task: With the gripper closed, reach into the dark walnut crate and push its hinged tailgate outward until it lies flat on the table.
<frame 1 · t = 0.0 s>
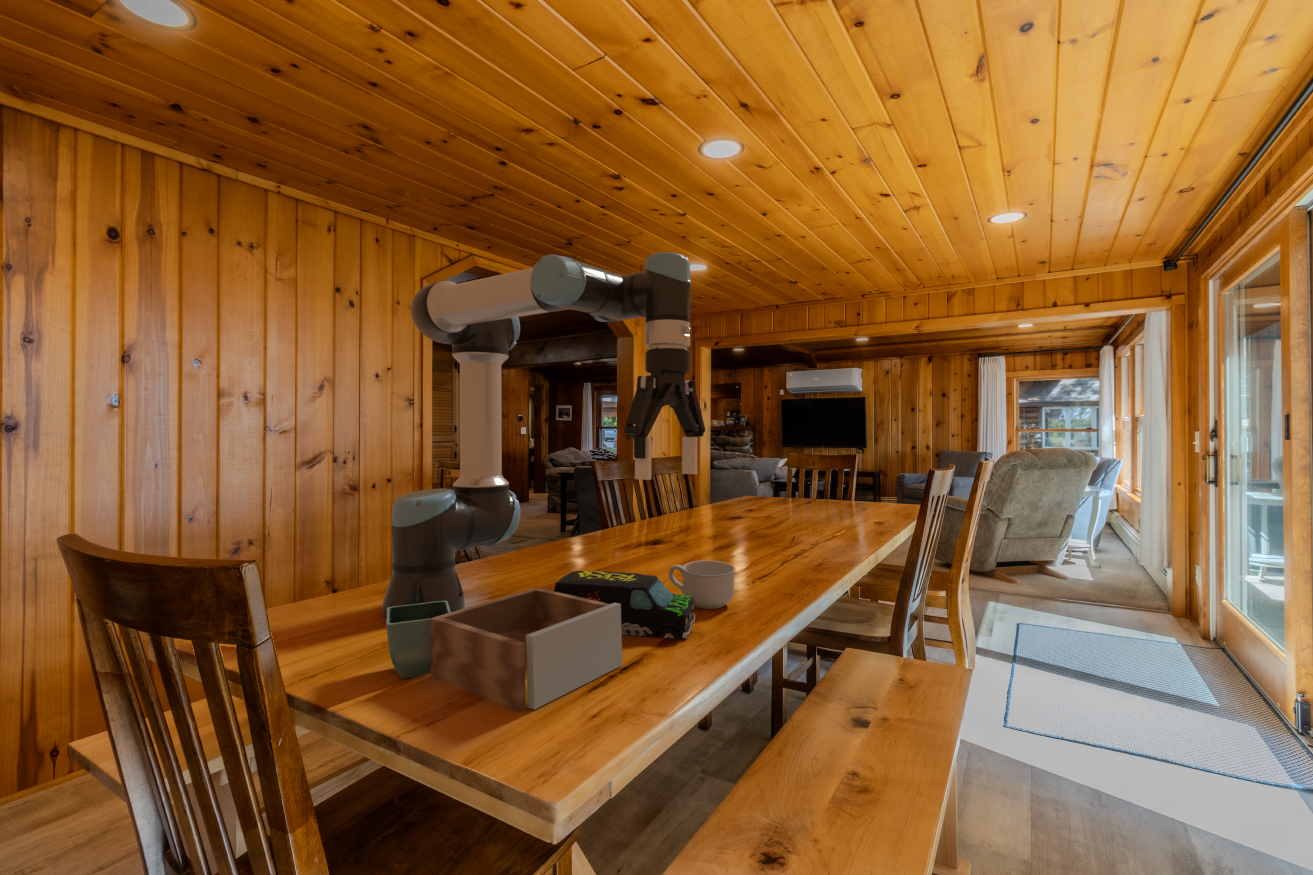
hand: (667, 476, 101), 28 cm above the table, tool pointing down, fingers open, 13 cm apart
flower pot: (418, 672, 90), on the table
toy van: (623, 634, 107), on the table
teacup: (701, 604, 125), on the table
crate: (529, 677, 88), on the table
tailgate: (577, 651, 82), point 6 cm above the table, hinge at -2.0°
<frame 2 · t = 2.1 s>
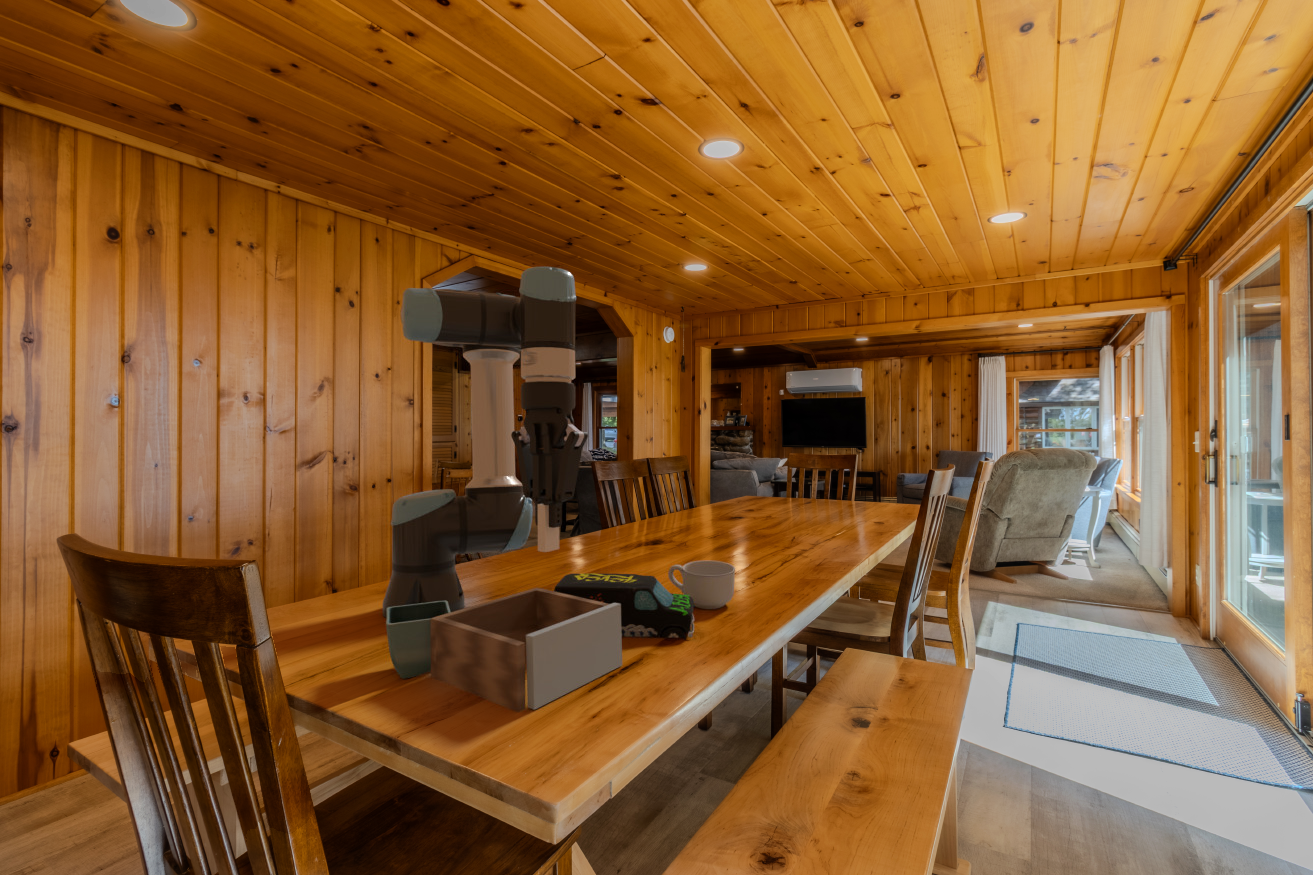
hand: (548, 549, 85), 19 cm above the table, tool pointing down, fingers closed
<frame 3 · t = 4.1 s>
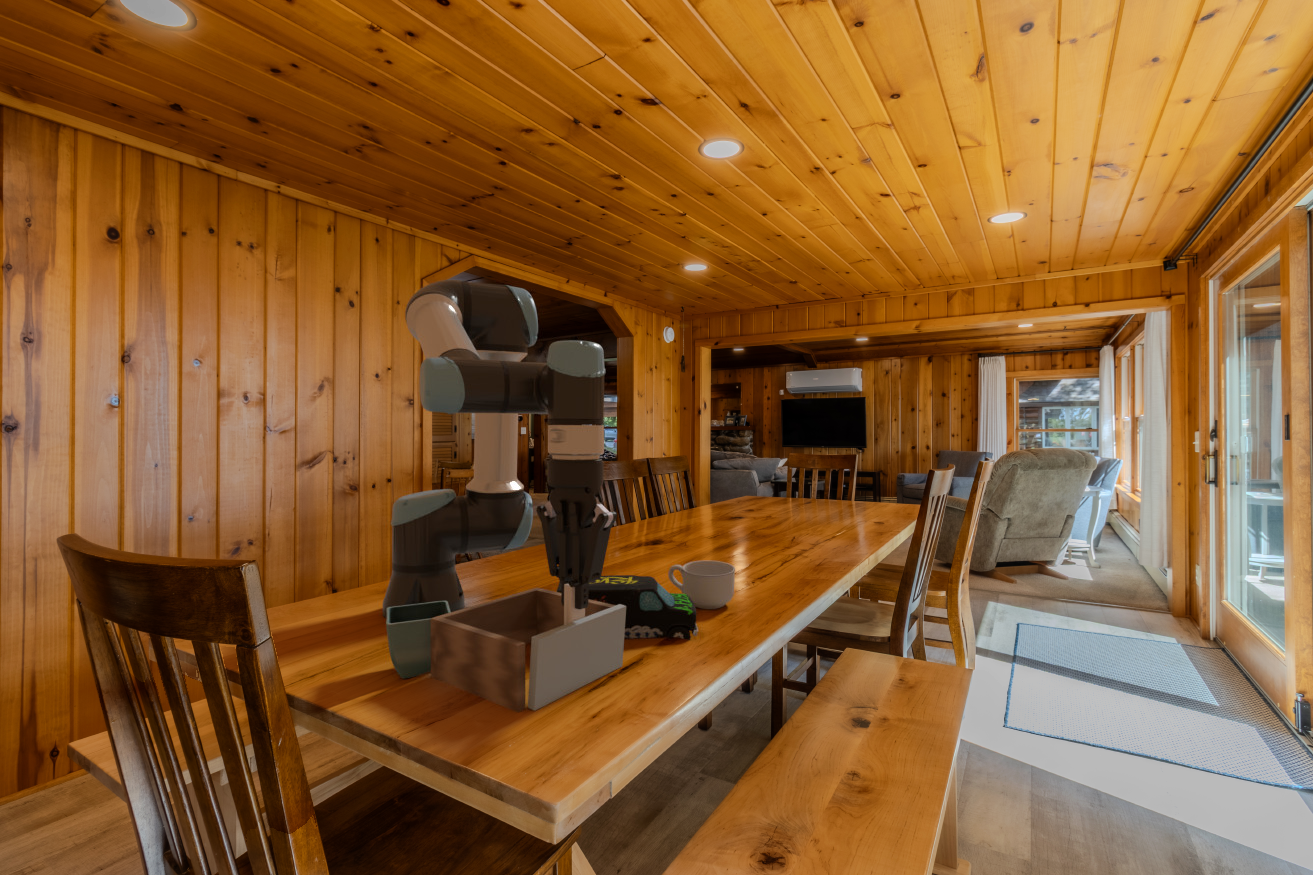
hand: (574, 630, 82), 9 cm above the table, tool pointing down, fingers closed
tailgate: (580, 652, 82), point 6 cm above the table, hinge at 4.7°, touching gripper
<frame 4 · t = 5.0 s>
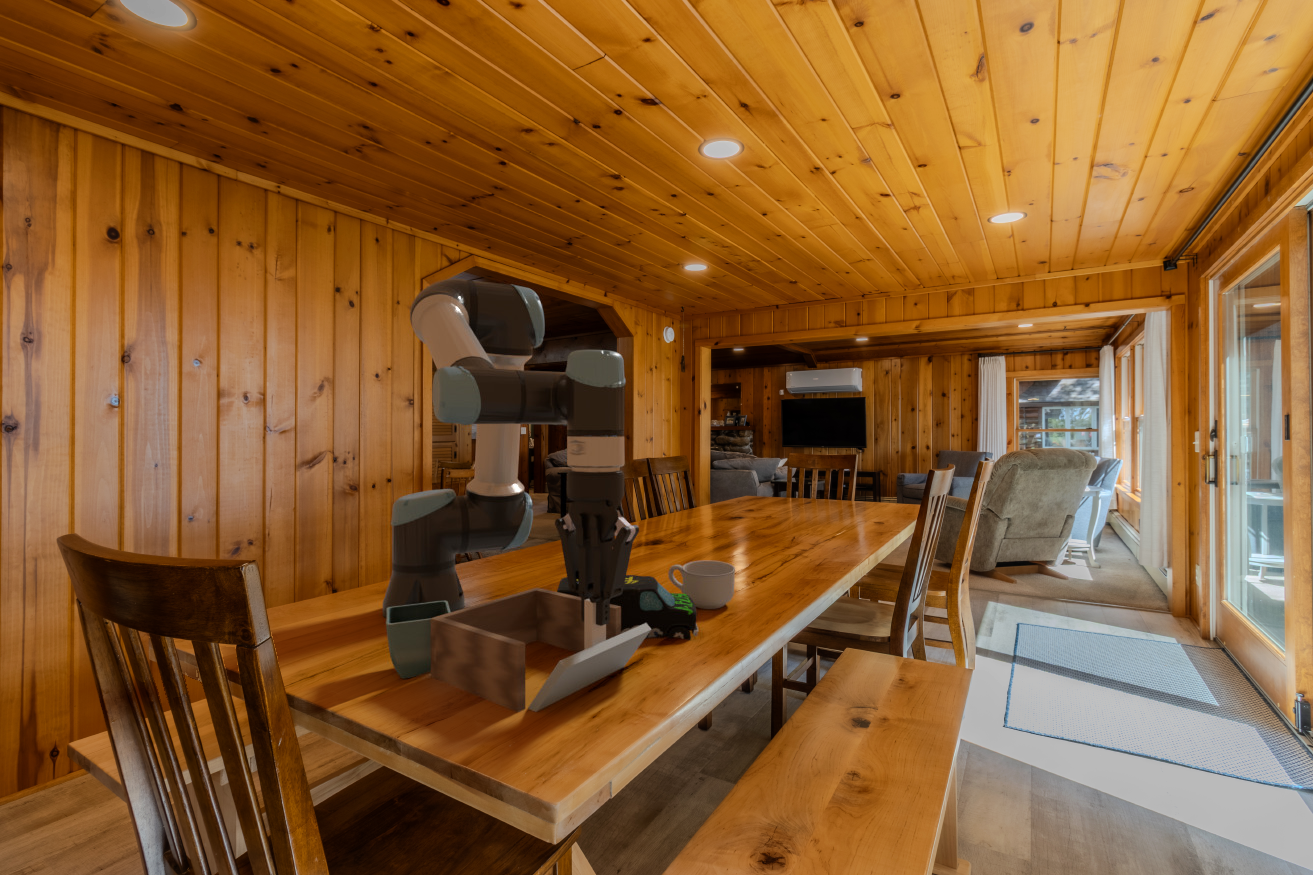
hand: (595, 647, 80), 7 cm above the table, tool pointing down, fingers closed
tailgate: (593, 665, 80), point 5 cm above the table, hinge at 37.5°, touching gripper
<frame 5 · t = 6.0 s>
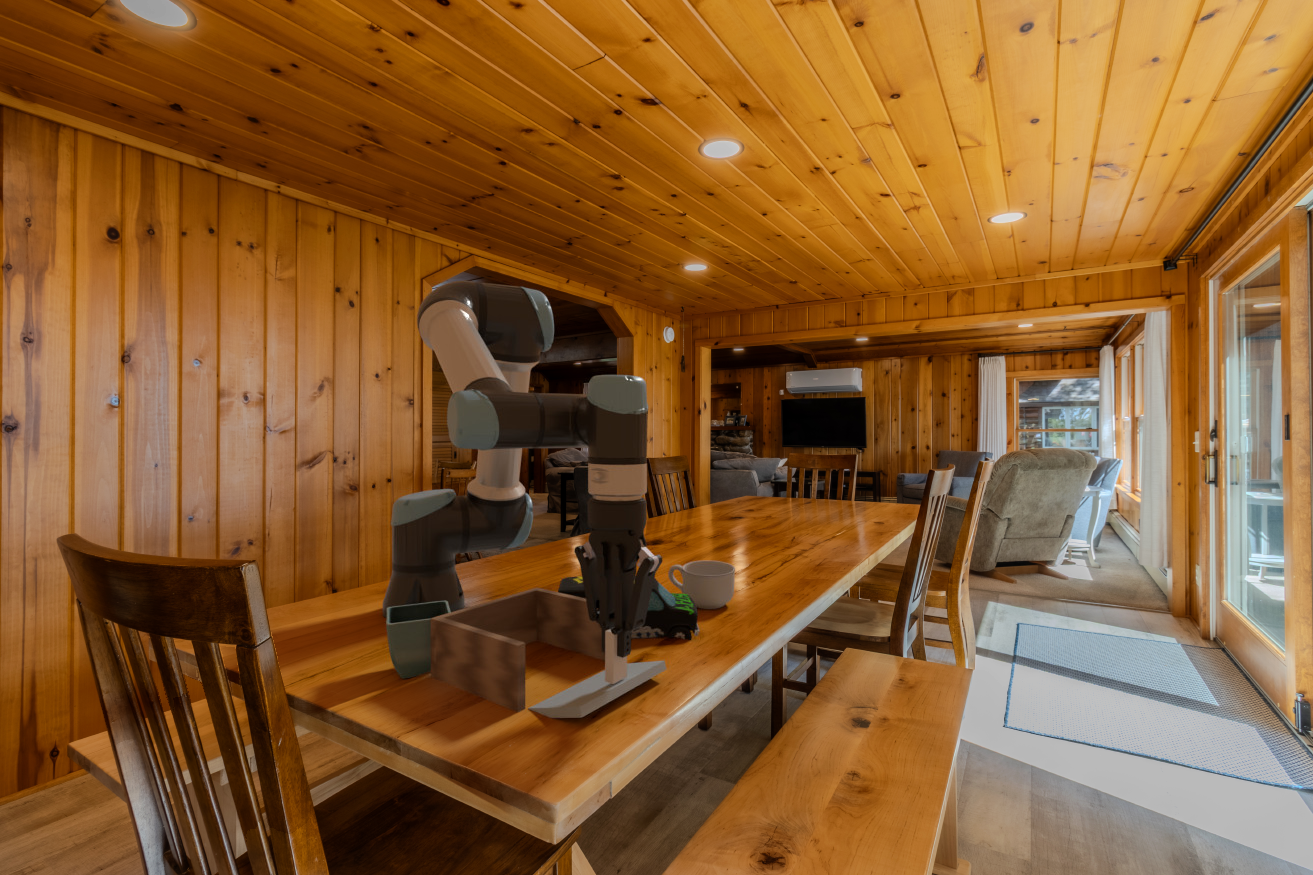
hand: (616, 678, 78), 4 cm above the table, tool pointing down, fingers closed
tailgate: (601, 687, 80), point 2 cm above the table, hinge at 73.7°, touching gripper
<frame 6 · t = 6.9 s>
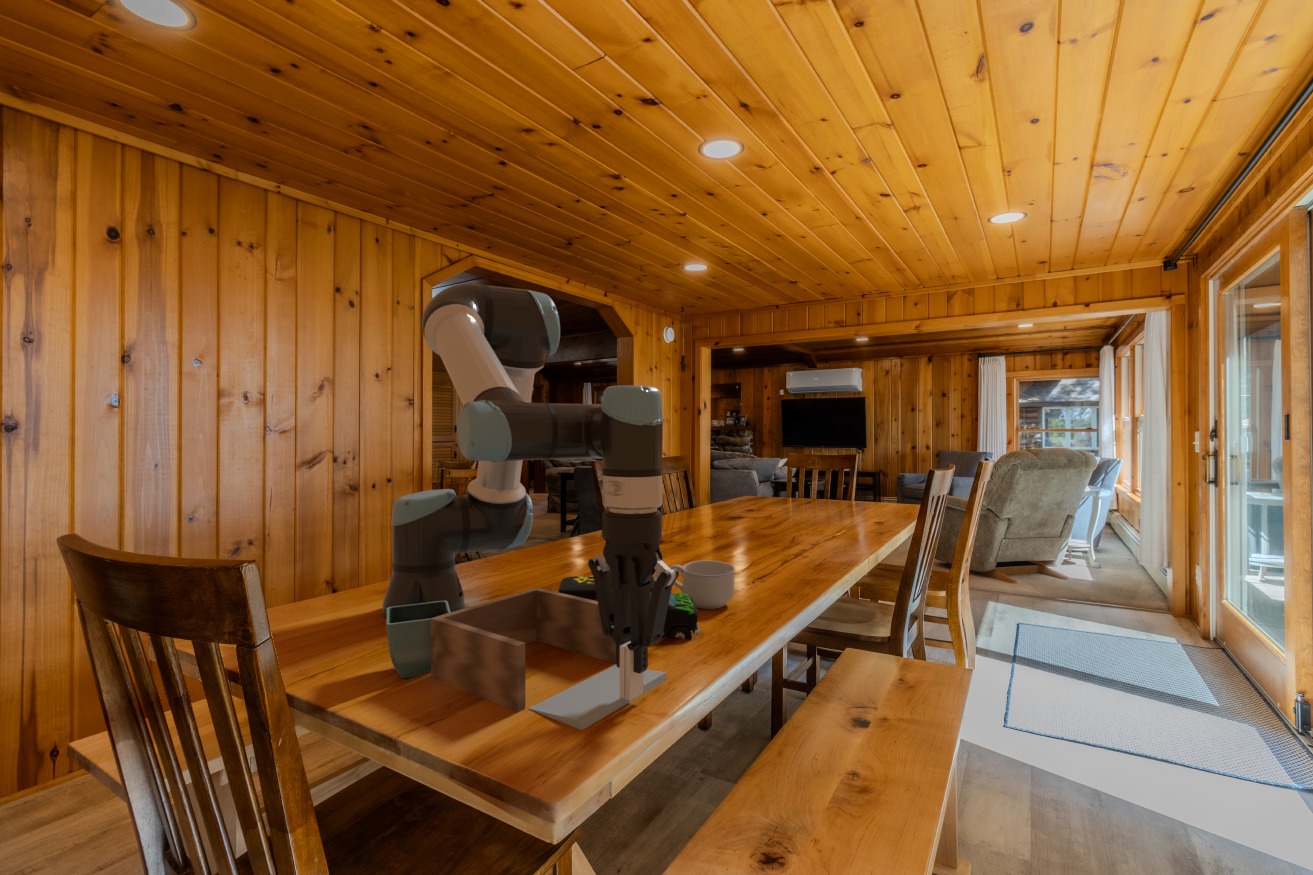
hand: (631, 694, 77), 2 cm above the table, tool pointing down, fingers closed
tailgate: (601, 693, 80), point 1 cm above the table, hinge at 83.9°, touching gripper
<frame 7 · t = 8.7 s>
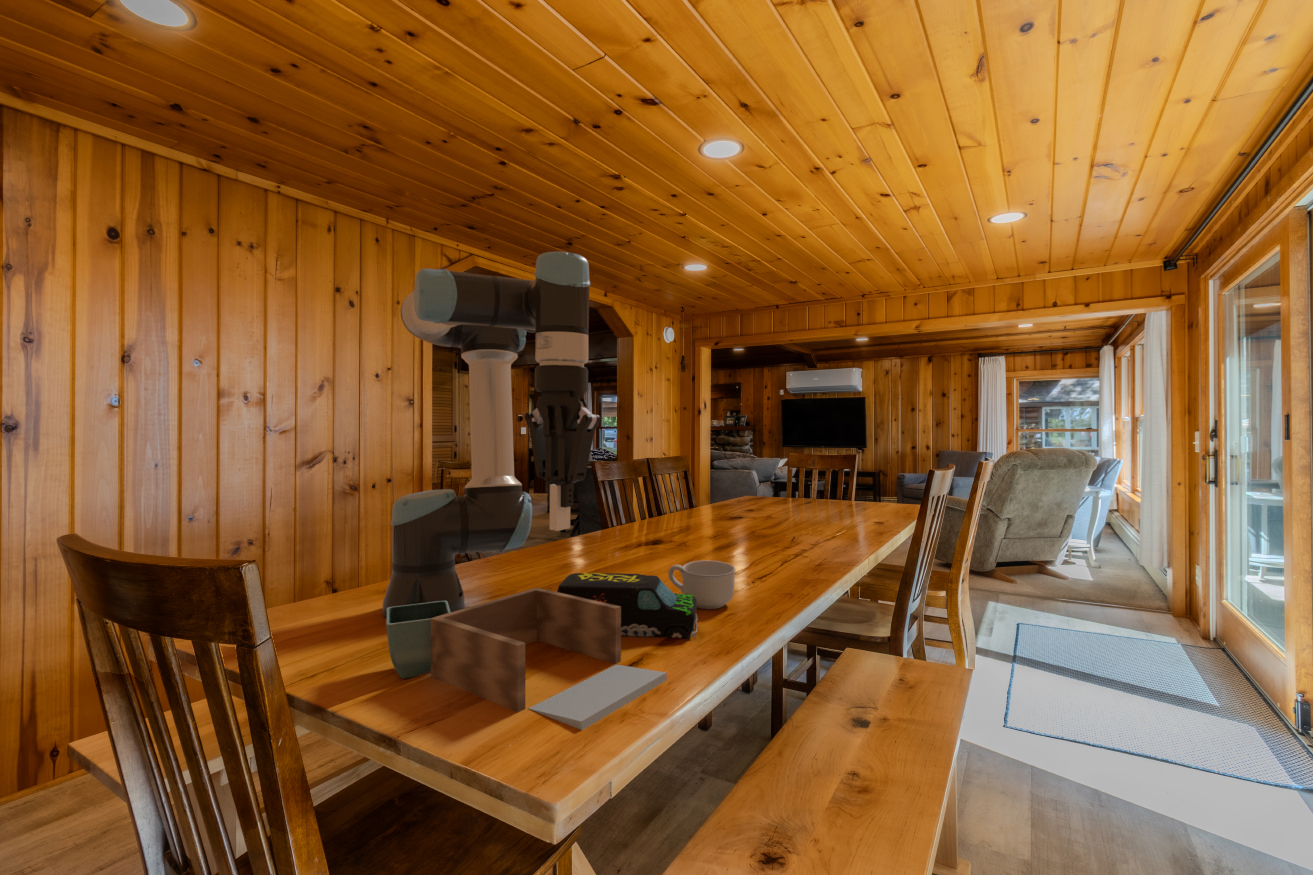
hand: (559, 528, 88), 22 cm above the table, tool pointing down, fingers closed
toy van: (626, 636, 106), on the table
tailgate: (601, 693, 80), point 1 cm above the table, hinge at 83.9°
everything else where it was.
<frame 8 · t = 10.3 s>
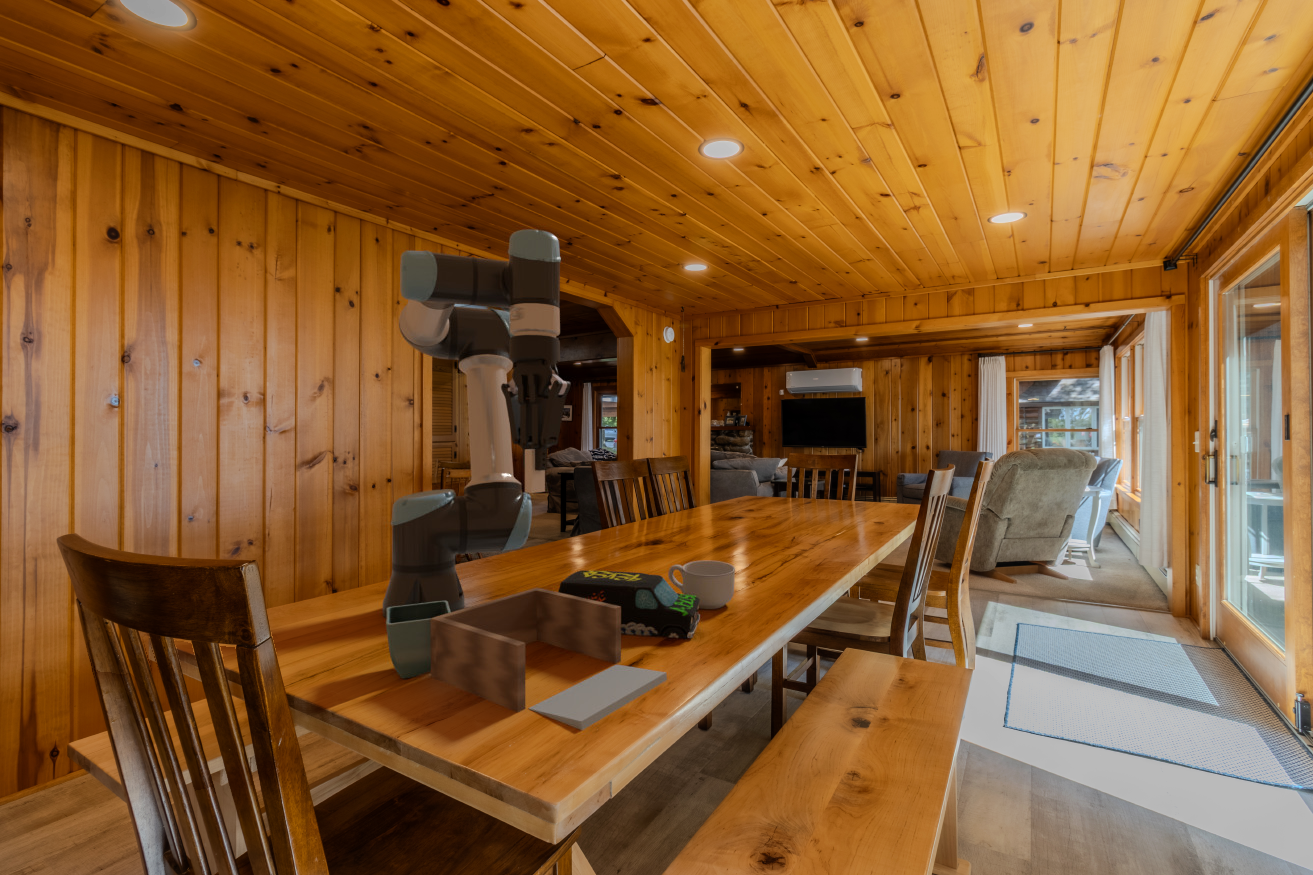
hand: (535, 491, 92), 26 cm above the table, tool pointing down, fingers closed
at the end: tailgate at +84° (first picture: -2°); flower pot moved 0.3 cm from its start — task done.
